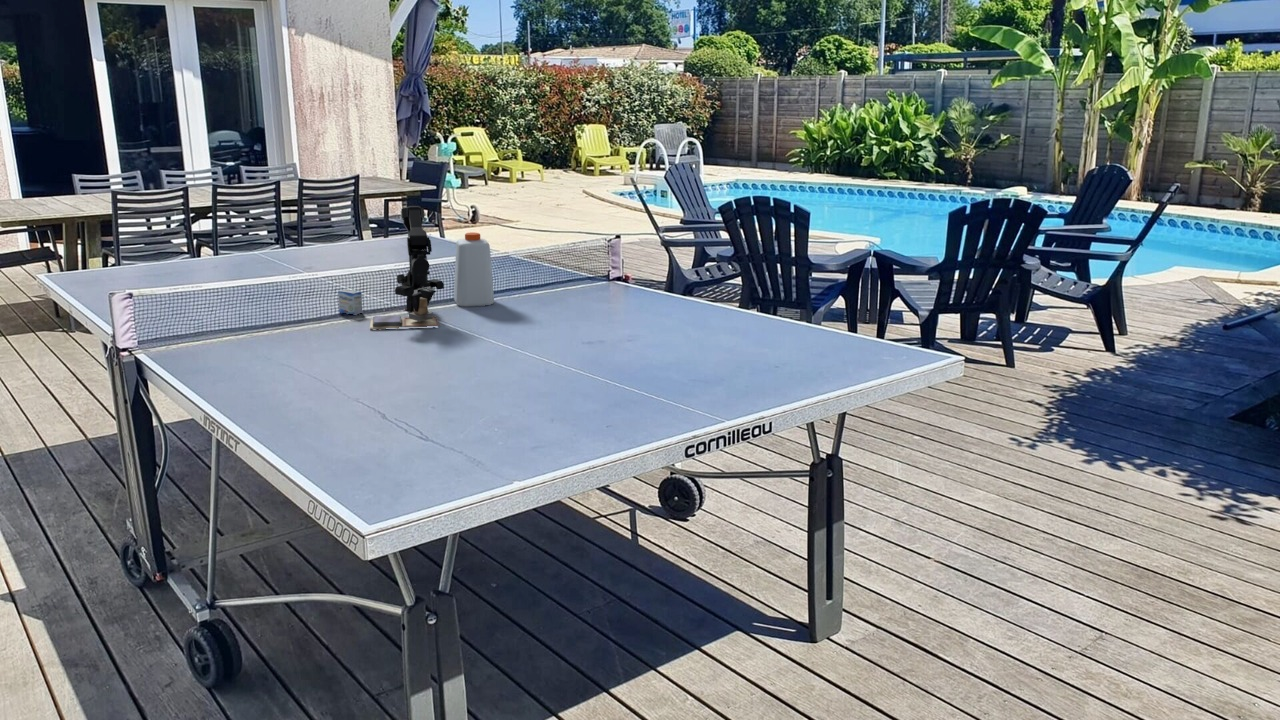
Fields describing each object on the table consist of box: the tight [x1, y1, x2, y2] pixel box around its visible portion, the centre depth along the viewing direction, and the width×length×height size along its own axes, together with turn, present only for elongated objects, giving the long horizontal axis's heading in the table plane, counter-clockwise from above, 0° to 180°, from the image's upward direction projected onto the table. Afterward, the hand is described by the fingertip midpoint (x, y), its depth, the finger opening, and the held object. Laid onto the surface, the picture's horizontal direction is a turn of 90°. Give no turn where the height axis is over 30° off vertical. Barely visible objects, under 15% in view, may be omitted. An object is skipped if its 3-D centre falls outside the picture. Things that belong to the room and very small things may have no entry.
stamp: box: [408, 297, 434, 321], centre depth 367 cm, size 6×6×8 cm
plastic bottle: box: [453, 231, 495, 308], centre depth 400 cm, size 15×15×28 cm
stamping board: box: [369, 315, 439, 330], centre depth 367 cm, size 24×12×2 cm, turn 103°
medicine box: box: [337, 288, 363, 314], centre depth 381 cm, size 8×4×9 cm, turn 62°
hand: (420, 310), depth 367 cm, fingers closed on stamp, 3 cm apart
